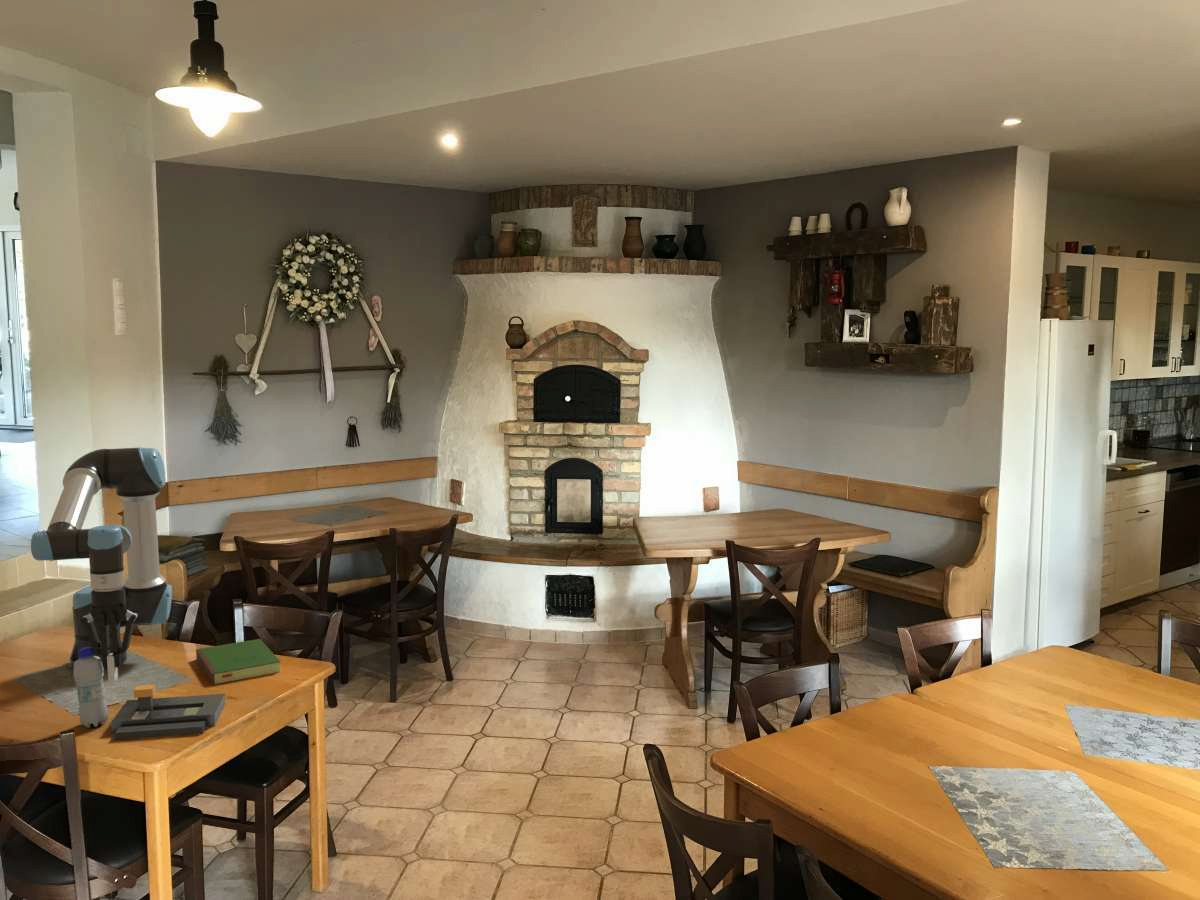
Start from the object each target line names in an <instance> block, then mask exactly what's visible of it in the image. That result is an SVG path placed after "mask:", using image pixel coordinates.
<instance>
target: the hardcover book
mask: <svg viewBox="0 0 1200 900" xmlns="http://www.w3.org/2000/svg"><path fill="white" fill-rule="evenodd" d="M195 655H196V659H195V660H196V661H197V663H198V664H199V666H200V668H202V671H203V672H204V673H205V675H206V676H207V678H208V680H209V681H210V682H211V684H212V685H216V684H223V683H227V682H233V681H240V680H245V679H250V678H255V677H260V676H266V675H270V674H271V675H272V674H276V673H281V670H280V667H281V666H280V663H281V660H280V659H279V658H278V657H277V656H276V654H274V653H273V651H272V650H271V649H270V648H269V647H268V646H267V645H266V643H265V642H264V641H263V640H262V639H261V638H257V639H251V640H244V641H239V642H238V641H237V642H232V643H227V644H221V645H216V646H209V647H202V648H197V649H195Z"/></svg>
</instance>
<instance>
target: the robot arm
mask: <svg viewBox="0 0 1200 900" xmlns="http://www.w3.org/2000/svg"><path fill="white" fill-rule="evenodd" d="M165 486H166V471H165V465H164V461H163V457H162V455H161V453H160V452H159V450H158V449H156V448H152V447H126V448H125V447H124V448H121V447H120V448H100V449H96V450H95V449H94V450H93V451H92V450H91V451H90V452H87V453H86V454H84V455H82V456H80V457H79V458H78V459H76V460H75V461H74V462H72V464H70V466H69V467H68V469H67V470H66V471H65V473H64V476H63V479H62V487H63V490H62V491H61V494H60V496H59V499H58V500H57V504H56V507H55V509H54V511H53V514H52V516H51V519H50V521H49V524H48V526H47V528H46V530H45V529H44V530H41V531H36V532H34V533H32V536H31V539H30V540H31V541H30V551H31V555H32V558H33V559H34V560H35V561H38V562H39V561H50V562H53V561H64V560H66V561H67V560H78V559H88V560H89V561H88V562H89V577H90V579H89V580H90V585H88V586H86V587H83V588H80V589H79V590H78V589H77V591H76V592H75V593H74V594H73V595H72V606H71V608H72V616H73V619H72V620H73V628H74V630H73V633H74V643H73V646H72V648H71V652H70V655H69V668H70V669H71V670H74V662H75V661H77V660H78V659H80V658H79V655H78V652H79V650H80V649H82V648H85V647H91V648H93V651H94V656H97V657H100V659H101V662H102V666H103V669H104V670H106V669H107V679H108V681H107V682H109V683H110V682H112V683H114V682H116V681H117V680H118V679H119V673H118V671H119V669H118V668H120V667H121V666H122V664H123V663H125V662H126V661H127V658H128V656H127V650H129V648H130V644H131V640H132V639H131V638H132V633H133V629H134V627H139V626H140V627H141V626H153V625H160V624H165V623H166V622H167V621H168V619H169V617H170V613H171V607H172V601H173V600H172V599H173V586H172V584H168V583H167V579H166V577H164V576H163V575H162V574H161V571H160V570H161V569H160V557H159V556H160V555H159V554H160V553H159V539H158V526H157V525H158V523H157V509H156V508H157V507H156V497H158V496H159V494H161V488H164V487H165ZM105 489H107V490H108V489H109V490H112V489H113V490H114V489H115V491H116V496H117V497H118V498H120V499H121V500H122V505H123V506H122V507H123V520H124V522H123V523H124V526H123V525H120V524H116V525H115V524H113V525H112V524H105V525H104V524H103V525H98V526H94V527H91V528H83V526H84V523H85V520H86V516H87V514H88V512H89V509H90V506H91V503H92V501H93V498H94V496H95V495H96V494H97V493H99V491H100V490H105ZM124 554H126V562H127V564H126V565H127V578H126V579H125V570H124V569H125V568H124ZM121 628H125V629H124V634H123V638H122V637H121Z"/></svg>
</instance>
